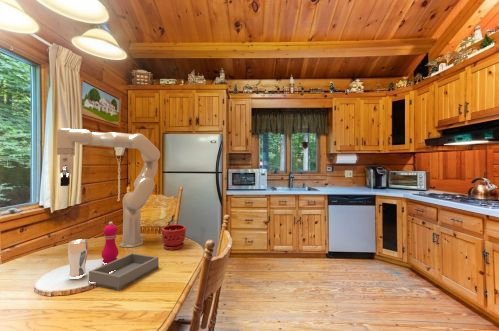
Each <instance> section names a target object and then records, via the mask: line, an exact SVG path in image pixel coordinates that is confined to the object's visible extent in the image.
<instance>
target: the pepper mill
mask: <svg viewBox="0 0 499 331" xmlns="http://www.w3.org/2000/svg"><path fill="white" fill-rule="evenodd" d="M102 232H103V234H104V240H105V242H104V247H103V249H102V251H101V258H102V261H103V262H104V263H110V262H112V261H114V260H117V259H118V258H117V257H118V256H119V249H118V247H117V244H116V239H117V234H116V233H118V226H117V225H115V224H114V223H113V221H109V222H108V225H105V227H104V228H103V231H102Z"/></svg>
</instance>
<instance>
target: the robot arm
mask: <svg viewBox="0 0 499 331" xmlns="http://www.w3.org/2000/svg"><path fill="white" fill-rule="evenodd" d="M56 135H57V136H56V156H59V164H58V165H59V166H58V167H59V174H60V175H61V176H60V183H59V185H60V187H68V186H69V185H70V184H71V183H70V182H71V180H70V179H71V178H70V175H72V174H73V165H74V164H73V160H74V159H73V156H76V143H77V144H79V145H82V146H83V145H85V146H96V147H97V146H98V147H109V148H126V149H137V150H139V151H140V154H141V155H140V157H141V160H142V161H143V167H142V168H141V170H140V172H139V173H138V175H137V177H136V179H135V180H134V182H133V188H134V189H133V191H130V192H127V193H125V194H124V196H123V198H122V213H123V214H122V220H123V221H122V241H121V242H120V243H119V247H121V248H127V249H128V248H135V247H139V246H142V245H143V243H144V241H143V240H142V239H144V238H146V234H141V218H142V217H141V216H142V214H141V213H142V212H141V209H142V208H143V207H144V206H145V205H146V204H147V202H148V201H149V198H150V197H151V195H152V193H153V191H154V189H155V186H156V185H155V181H154V178H155V176H156V174H157V171H158V167H159V165H158V161H159V159H160V158H161V152H160V150H159V148H157V146H155V145H154V143H152V142H151V141H150V140H149V139H148V137H146V136H145V134H143V133H140V132H139V133H125V132H114V131H109V132H91V131H90V130H88V129H86V128H85V129H84V128H83V129H82V128H81V129H73V128H68V127H60V128H58V129H57V133H56Z"/></svg>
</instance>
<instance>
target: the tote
mask: <svg viewBox="0 0 499 331" xmlns="http://www.w3.org/2000/svg"><path fill="white" fill-rule="evenodd" d="M159 258H160V257H159V256H155V255H147V254H141V253H134V252H132V253H129V254H127V255H124V256H122V257H120V258H117V260H114V261H112V262H110V263H107V264H105V265H103V264H102V265H101V266H98V267H96V268H93V269H91V270H89V271H88V282H89V281H90V282H96V287H102V288H104V289H109V290H110V289H111V290H114V291H121V290H123V289H125V287H127V286H129V285H131V284H133V283H134V282H137V281H138V280H140V279H141V278H143V277H145V276H147V275H149V274H150V273H152V272H154V271H156V270H157V269H159ZM114 270H116V271H114ZM111 271H114V272H113V273H112V274H109V272H111Z"/></svg>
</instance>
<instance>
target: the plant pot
mask: <svg viewBox="0 0 499 331" xmlns="http://www.w3.org/2000/svg"><path fill="white" fill-rule="evenodd" d="M161 229H162V230H161V236H162V241H163V245H162V246H163V247H164V249H166V250H169V251H172V250H173V251H174V250H179V249H182V248H183V247H184V246H185V242H184V241H185V239H186V232H187V231H186V229H187V228H186V226H185V225H182V224H169V225H165V226H163V227H162V228H161Z"/></svg>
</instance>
